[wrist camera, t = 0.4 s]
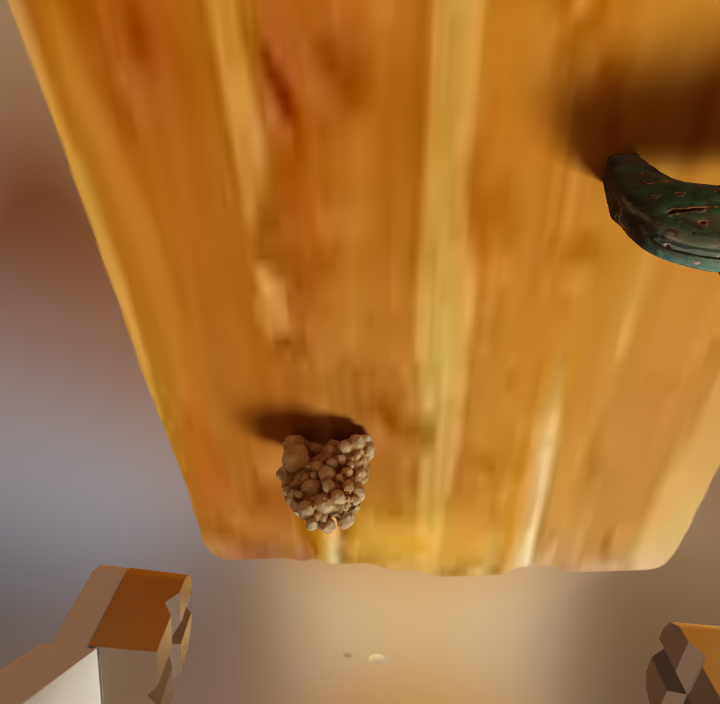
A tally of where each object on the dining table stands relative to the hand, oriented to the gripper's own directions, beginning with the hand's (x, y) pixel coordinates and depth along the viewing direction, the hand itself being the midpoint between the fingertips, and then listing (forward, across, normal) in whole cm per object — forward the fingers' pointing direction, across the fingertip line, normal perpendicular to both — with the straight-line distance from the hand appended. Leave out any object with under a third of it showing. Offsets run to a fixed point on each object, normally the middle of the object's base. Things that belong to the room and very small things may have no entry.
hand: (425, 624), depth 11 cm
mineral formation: (+67, +3, +38) cm, 77 cm away
